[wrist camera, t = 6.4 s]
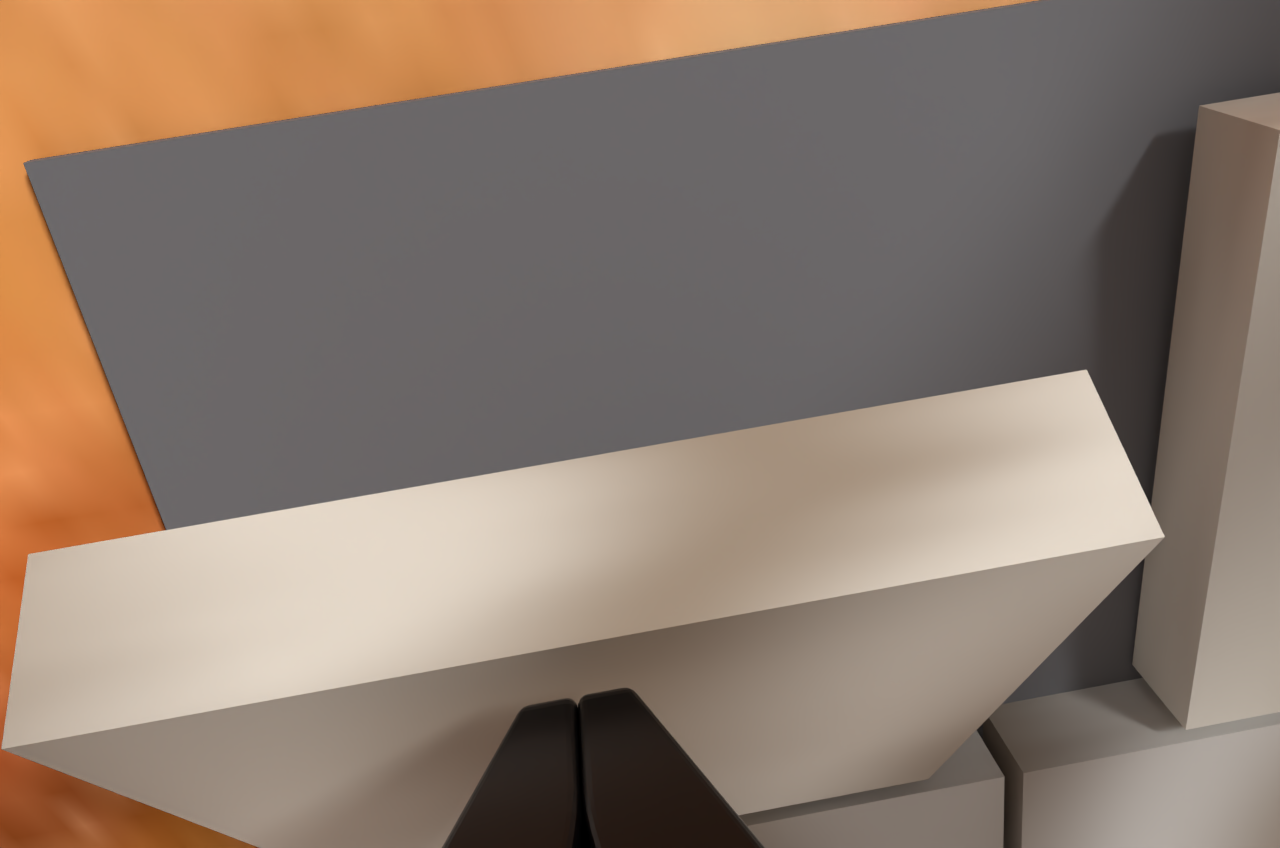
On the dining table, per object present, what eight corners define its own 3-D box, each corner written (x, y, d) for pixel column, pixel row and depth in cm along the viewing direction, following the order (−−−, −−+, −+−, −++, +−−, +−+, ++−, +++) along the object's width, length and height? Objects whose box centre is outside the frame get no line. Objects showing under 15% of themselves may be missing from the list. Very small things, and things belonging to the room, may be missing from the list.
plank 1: (1087, 369, 8) (1165, 537, 8) (898, 681, 16) (928, 778, 15) (29, 554, 8) (1, 749, 7) (358, 781, 16) (362, 886, 15)
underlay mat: (1931, -141, 13) (1950, -143, 13) (1538, 981, 22) (1546, 990, 22) (30, 159, 12) (23, 163, 12) (435, 1207, 21) (434, 1218, 21)
